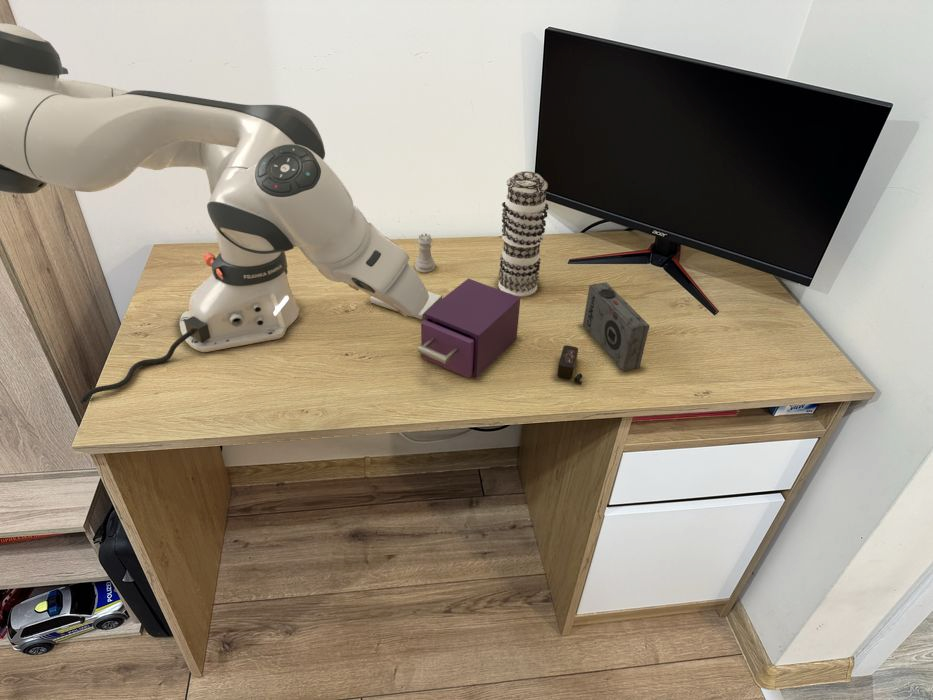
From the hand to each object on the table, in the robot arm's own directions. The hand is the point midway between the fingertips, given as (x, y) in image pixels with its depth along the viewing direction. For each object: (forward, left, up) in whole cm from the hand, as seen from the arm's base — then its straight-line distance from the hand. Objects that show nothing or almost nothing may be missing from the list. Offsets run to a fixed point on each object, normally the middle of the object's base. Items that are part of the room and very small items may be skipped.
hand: (381, 297), depth 102 cm
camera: (+46, -3, -24) cm, 52 cm away
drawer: (+19, +8, -23) cm, 31 cm away
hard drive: (+19, +29, -24) cm, 42 cm away
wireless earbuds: (+34, -6, -24) cm, 42 cm away
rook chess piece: (+29, +39, -24) cm, 54 cm away
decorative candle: (+43, +23, -24) cm, 55 cm away
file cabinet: (+23, +9, -24) cm, 34 cm away
